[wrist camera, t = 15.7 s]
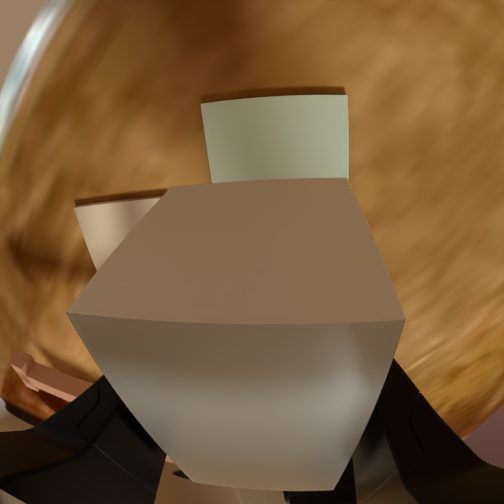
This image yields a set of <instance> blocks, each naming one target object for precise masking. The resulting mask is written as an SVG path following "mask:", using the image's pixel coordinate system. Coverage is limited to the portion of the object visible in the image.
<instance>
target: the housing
mask: <svg viewBox="0 0 504 504" xmlns="http://www.w3.org/2000/svg"><path fill="white" fill-rule="evenodd" d="M161 197H162V196H153V197H143V198H133V199H124V200H116V201H107V202H99V203H91V204H84V205H77V206H75V207H74V210H75V213H76V216H77V219H78V222H79V225H80V228H81V231H82V233H83V236H84V239H85V242H86V245H87V247H88V250H89V252H90V255H91V258H92V260H93V263H94V265H95V268H96V270H97V271H98V270H99V269H100V267H101V266H102V265H103V264H104V262H105V261H106V260H107V259H108V257H109V256H110V255H111V254H112V253H113V251H114V250H115V249H116V248H117V247H118V245H119V244H120V243H121V242H122V241H123V240H124V238H125V237H126V236H127V235H128V234H129V233H130V231H131V230H132V229H133V228H134V227H135V226H136V225H137V223H138V222H139V221H140V220H141V219H142V218H143V217H144V216H145V215H146V213H147V212H148V211H149V210H150V209H151V208H152V207H153V206H154V205H155V204H156V202H157V201H158V200H159V199H160V198H161Z"/></svg>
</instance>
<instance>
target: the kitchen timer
mask: <svg viewBox="0 0 504 504" xmlns="http://www.w3.org/2000/svg"><path fill="white" fill-rule="evenodd" d="M235 492H236V495H237V497H238V500H239V501H240V503H241V504H287V503H286V502H285V499H284V494H283V492H282V491H273V490H256V489H243V488H235Z"/></svg>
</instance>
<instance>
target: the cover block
mask: <svg viewBox="0 0 504 504" xmlns="http://www.w3.org/2000/svg"><path fill="white" fill-rule="evenodd" d="M66 313H67V315H68V317H69V319H70V321H71V322H72V324H73V326H74V328H75V329H76V331H77V333H78V334H79V336H80V338H81V340H82V341H83V343H84V344H85V346H86V348H87V349H88V351H89V353H90V354H91V356H92V357H93V359H94V360H95V362H96V363H97V365H98V366H99V368H100V370H101V371H102V372H103V374H104V375H105V377H106V378H107V380H108V381H109V383H110V384H111V386H112V387H113V388H114V390H115V391H116V393H117V394H118V395H119V397H120V398H121V399H122V401H123V402H124V403H125V405H126V406H127V407H128V409H129V410H130V411H131V413H132V414H133V415H134V416H135V418H136V419H137V420H138V421H139V423H140V424H141V425H142V426H143V428H144V429H145V430H146V431H147V432H148V434H149V435H150V436H151V437H152V438H153V439H154V441H155V442H156V443H157V444H158V445H159V446H160V447H161V449H162V450H163V451H164V452H165V453H166V454H167V455H168V456H169V457H170V459H171V460H172V461H173V462H174V463H175V464H176V465H177V466H178V467H179V468H180V469H181V470H182V471H183V472H184V473H185V474H186V475H187V476H188V477H189V478H190V479H191V480H192V481H193V482H197V483H203V484H210V485H217V486H224V487H233V488H243V489H256V490H273V491H324V490H334V488H335V486H336V484H337V483H338V481H339V479H340V477H341V475H342V474H343V472H344V470H345V468H346V466H347V464H348V462H349V460H350V458H351V457H352V455H353V453H354V451H355V449H356V446H357V444H358V442H359V440H360V438H361V436H362V434H363V432H364V430H365V427H366V425H367V423H368V421H369V419H370V416H371V414H372V412H373V409H374V407H375V405H376V402H377V400H378V397H379V395H380V392H381V390H382V387H383V385H384V382H385V379H386V377H387V374H388V371H389V369H390V366H391V363H392V360H393V357H394V354H395V352H396V349H397V346H398V342H399V339H400V336H401V333H402V330H403V327H404V323H405V320H406V319H405V316H404V313H403V311H402V308H401V305H400V302H399V299H398V296H397V294H396V291H395V288H394V286H393V283H392V280H391V278H390V275H389V273H388V270H387V268H386V265H385V262H384V260H383V258H382V255H381V253H380V250H379V248H378V245H377V243H376V241H375V238H374V236H373V234H372V231H371V229H370V227H369V225H368V222H367V220H366V218H365V216H364V213H363V211H362V209H361V207H360V205H359V203H358V201H357V198H356V196H355V194H354V192H353V190H352V188H351V186H350V184H349V182H348V180H347V178H297V179H271V180H252V181H235V182H221V183H208V184H196V185H184V186H174V187H171V188H170V189H169V190H168V191H167V192H166V193H165V194H164V195H163V196H162V197H161V198H160V199H159V200H158V201H157V202H156V204H155V205H154V206H153V207H152V208H151V209H150V210H149V211H148V212H147V213H146V215H145V216H144V217H143V218H142V219H141V220H140V221H139V222H138V223H137V225H136V226H135V227H134V228H133V229H132V230H131V231H130V233H129V234H128V235H127V236H126V237H125V238H124V240H123V241H122V242H121V243H120V244H119V245H118V247H117V248H116V249H115V250H114V251H113V253H112V254H111V255H110V256H109V257H108V259H107V260H106V261H105V262H104V264H103V265H102V266H101V267H100V269H99V270H98V271H97V272H96V274H95V275H94V276H93V277H92V279H91V280H90V281H89V282H88V284H87V285H86V286H85V288H84V289H83V290H82V291H81V293H80V294H79V295H78V297H77V298H76V299H75V301H74V302H73V303H72V305H71V306H70V307H69V309H68V310H67V312H66Z"/></svg>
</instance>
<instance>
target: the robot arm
mask: <svg viewBox="0 0 504 504" xmlns="http://www.w3.org/2000/svg"><path fill="white" fill-rule="evenodd" d="M419 392H420V391H419V390H418V388H417V387H416V386H415V385H414V383H413V382H412V381H411V379H410V378H409V377H408V376H407V374H406V373H405V372H404V370H403V369H402V368H401V367H400V365H399V364H398V363H397V362H396V360H395V359H394V358H393V360H392V363H391V366H390V369H389V371H388V374H387V377H386V379H385V382H384V385H383V387H382V390H381V392H380V395H379V397H378V400H377V402H376V405H375V407H374V409H373V412H372V414H371V416H370V419H369V421H368V423H367V425H366V427H365V430H364V432H363V434H362V436H361V438H360V440H359V442H358V444H357V446H356V449H355V451H354V453H353V455H352V457H351V458H350V460H349V462H348V464H347V466H346V468H345V470H344V472H343V474H342V475H341V477H340V479H339V481H338V483H337V484H336V486H335V488H334V490H324V491H282V492H283V494H284V499H285V502H286V503H287V504H504V469H503V468H500V467H497V466H494V465H491V464H489V463H487V462H485V461H484V460H482V459H481V458H480V457H478V456H477V455H476V454H475V453H474V452H473V451H472V450H471V449H470V448H469V447H468V446H467V445H466V444H465V443H464V442H463V440H462V439H461V438H460V437H459V436H458V435H457V434H456V433H455V432H454V431H453V430H452V429H451V428H450V427H449V426H448V425H447V424H446V423H445V421H444V420H443V419H442V418H441V417H440V416H439V415H438V414H437V413H436V411H435V410H434V409H433V408H432V406H431V405H430V404H429V403H428V401H427V400H426V399H425V397H424V396H423V395H422V393H419ZM166 455H167V454H166V453H165V452H164V451H163V450H162V449H161V447H160V446H159V445H158V444H157V443H156V442H155V441H154V439H153V438H152V437H151V436H150V435H149V434H148V432H147V431H146V430H145V429H144V428H143V426H142V425H141V424H140V423H139V421H138V420H137V419H136V418H135V416H134V415H133V414H132V413H131V411H130V410H129V409H128V407H127V406H126V405H125V403H124V402H123V401H122V399H121V398H120V397H119V395H118V394H117V393H116V391H115V390H114V388H113V387H112V386H111V384H110V383H109V381H108V380H107V378H106V377H105V375H103V376H102V377H100V378H99V381H98V380H97V381H96V382H95V383H93V384H92V385H91V386H90V387H89V388H88V389H86V390H85V391H84V392H83V393H82V394H80V395H79V396H78V397H77V398H75V399H74V400H73V401H71V402H70V403H69V404H67V405H66V406H64V407H63V408H62V409H60V410H59V411H57V412H56V413H55V414H53V415H52V416H50V417H49V418H47V419H46V420H45V421H43V422H42V423H40V424H39V425H37V426H35V427H33V428H31V429H27V430H22V431H10V432H0V504H154V501H155V498H156V493H157V489H158V485H159V481H160V477H161V474H162V470H163V466H164V462H165V459H166Z"/></svg>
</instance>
